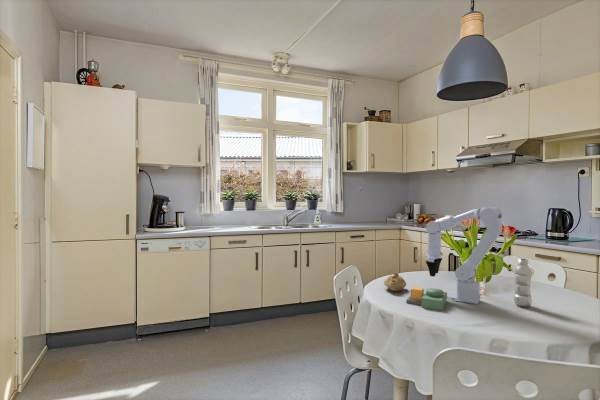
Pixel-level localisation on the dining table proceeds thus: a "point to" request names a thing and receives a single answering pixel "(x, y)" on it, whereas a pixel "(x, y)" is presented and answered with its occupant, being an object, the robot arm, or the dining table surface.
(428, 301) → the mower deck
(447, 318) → the dining table surface
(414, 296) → the chute block
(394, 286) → the oil lamp
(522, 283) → the plastic bottle
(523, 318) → the dining table surface
